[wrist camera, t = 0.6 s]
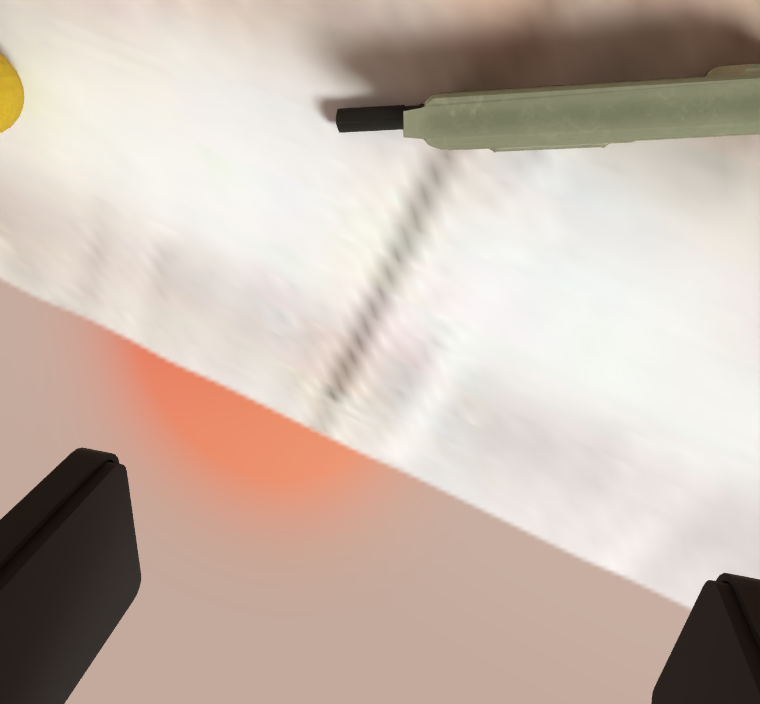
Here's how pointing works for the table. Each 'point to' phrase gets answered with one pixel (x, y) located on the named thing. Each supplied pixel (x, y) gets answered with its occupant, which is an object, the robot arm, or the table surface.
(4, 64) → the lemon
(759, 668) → the robot arm
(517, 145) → the handheld radio
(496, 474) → the table surface
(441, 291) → the table surface
